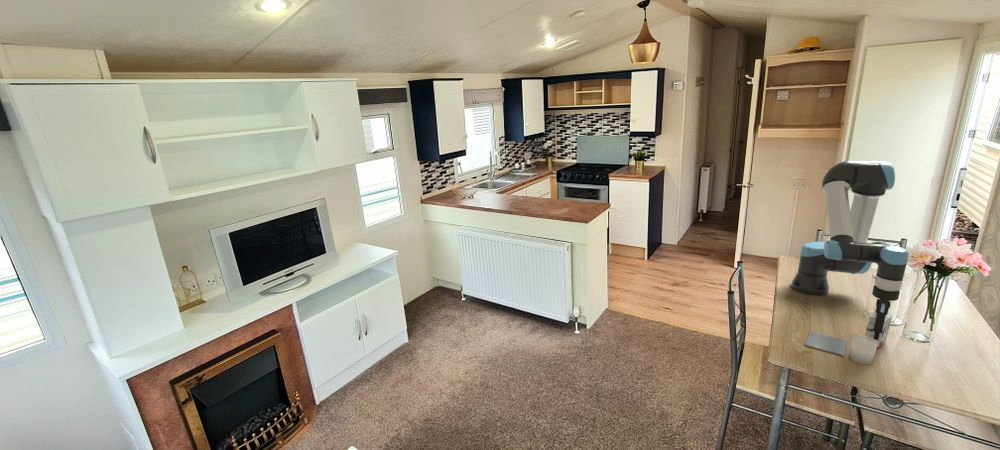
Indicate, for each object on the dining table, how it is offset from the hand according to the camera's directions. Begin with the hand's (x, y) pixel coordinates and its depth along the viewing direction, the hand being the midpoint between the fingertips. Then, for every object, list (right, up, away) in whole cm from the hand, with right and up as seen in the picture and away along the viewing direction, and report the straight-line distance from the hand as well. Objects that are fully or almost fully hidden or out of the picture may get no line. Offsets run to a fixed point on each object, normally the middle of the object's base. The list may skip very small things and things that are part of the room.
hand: (875, 340), depth 170 cm
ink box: (0, -1, 0) cm, 1 cm away
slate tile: (-18, -2, +1) cm, 18 cm away
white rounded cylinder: (-13, -5, -9) cm, 16 cm away
